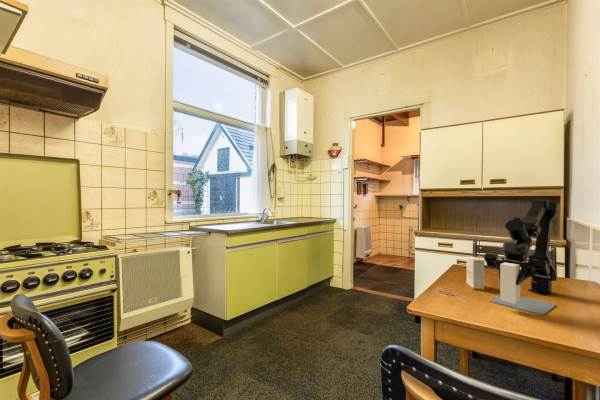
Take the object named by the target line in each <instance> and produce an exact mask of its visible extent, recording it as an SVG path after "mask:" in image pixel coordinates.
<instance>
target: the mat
mask: <svg viewBox="0 0 600 400" xmlns="http://www.w3.org/2000/svg"><path fill="white" fill-rule="evenodd" d="M489 301H490V303H493V304H497V305H501V306H505V307H509V308H513V309H517V310H519V311H524V312H528V313H531V314H535V315H539V316H544V315H546V314H547V313H548V312H550V311H551V310H552V309H554V308H556V307H557V303H552V302H547V301H544V300H540V299H534V298H531V297H528V296H527V297H526V296H523V295H520V301H519V302H518V303H516V304H514V303H510V302H506V301H502V300H500V295H499V296H497V297H495V298H493V299H491V300H489Z"/></svg>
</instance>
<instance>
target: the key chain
mask: <svg viewBox="0 0 600 400" xmlns="http://www.w3.org/2000/svg"><path fill="white" fill-rule="evenodd" d="M443 292H444V293H443ZM437 293H438V294H440V295H439V296H441V297H447V296H452V297H456V299H457V300H460V301H462V302H463V303H464V302H465V303H466V302H467V301H466V300H464V298H465V297H466V295H460V294H458V293H453V292H450V291H446V290H442V293H441V291H440V290H438V291H437ZM462 297H464V298H462Z"/></svg>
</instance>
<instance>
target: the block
mask: <svg viewBox="0 0 600 400" xmlns="http://www.w3.org/2000/svg"><path fill="white" fill-rule="evenodd" d="M520 270H521V267H520V265H519V264H512V263H506V262H505V263H502V264H500V278H499V282H500V284H499V288H500V291H499V292H500V293H499V296H500V300H502V301H506V302H510V303H514V304H516V303H518V302H519V301H520V296H521V283H520V284H519V285H516V280H517V278H518V275H519V273H520Z"/></svg>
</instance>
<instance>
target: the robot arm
mask: <svg viewBox="0 0 600 400" xmlns="http://www.w3.org/2000/svg"><path fill="white" fill-rule="evenodd" d="M560 213H561V206H560V204H559V203H557V202H554V201H549V200H547V199H534V200H533V199H532V201H531V205H530V207H529V209H528V210H527V212H526V214H525V216H524V217H514V218H513V219H511V220H508V221H507V222H506V223H505V224H504V228H505V229H506V232H507V233H508V236H509V238H510V239H511V240H512V242H503V244H502V252H503V253H504V254H503V256H504V257H506V258H504V257H501V256H499V255H498V253H490V252H486V253H485V254H484V255H483V260H484V262H486V265H487V267H489V268H496V270H498V277H499V279H500V264H502V263H505V262H506V263H512V264H519V265H520V273H519V275H518V278H517V280H516V285H519V284H520V285H521V284H522V283H523V282H525V280H527V279H529V278H531V280H530V288H528V291H530V292H532V293H535V294H538V295H541V296H548V295H556V292H553V290H552V285H553V283H552V282H554V281H555V282H556V281H557V279H558V277H557V273H556V270H555V267H554V264H553V263H554V262H553V261H552V260H551V258H550V256H549V255H550V243H551V238H552V237H551V236H552V229H553V228H552V227H553V223H555V221H557V219H558V218H559V214H560ZM532 238H536V240H535V247H534V253H532V255H529V253H530V250H531V248H532V247H533V239H532ZM527 259H528V261H527Z"/></svg>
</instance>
